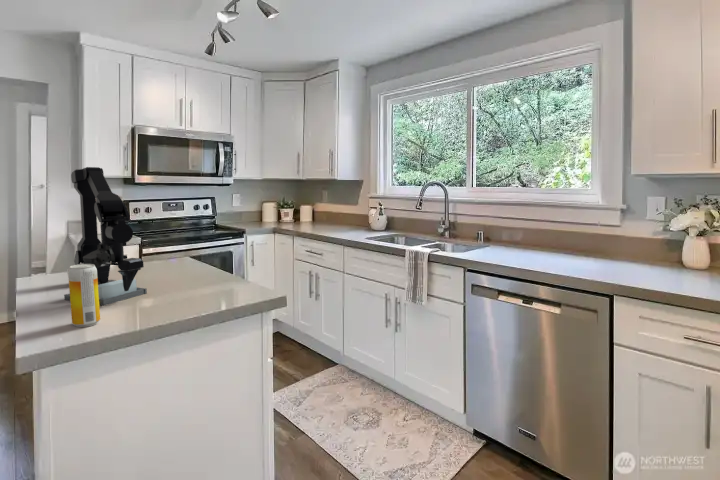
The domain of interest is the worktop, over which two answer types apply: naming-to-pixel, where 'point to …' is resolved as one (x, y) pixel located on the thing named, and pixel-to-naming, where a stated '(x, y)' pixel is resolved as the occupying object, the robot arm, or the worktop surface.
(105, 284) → the panel
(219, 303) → the worktop surface
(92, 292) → the beer can
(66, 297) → the rack
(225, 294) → the worktop surface
